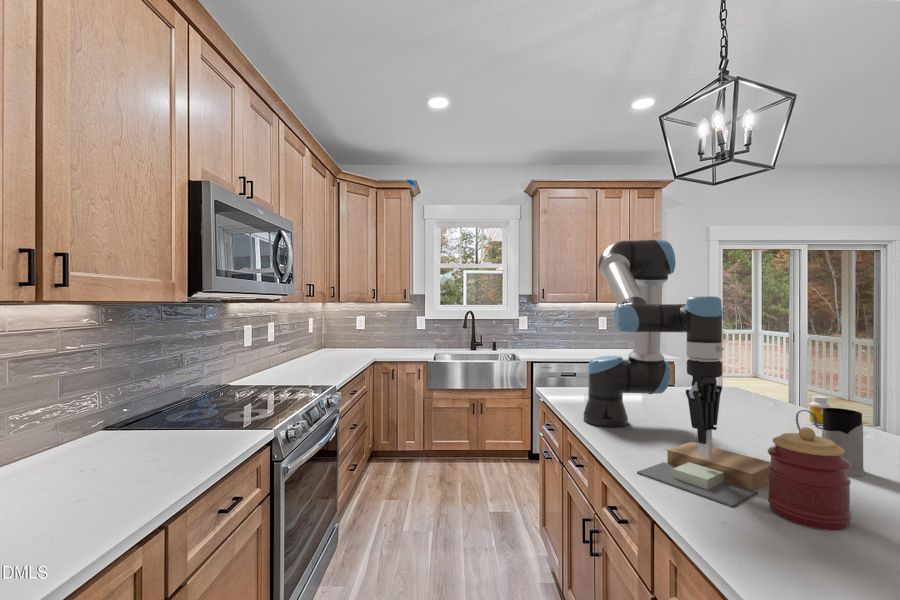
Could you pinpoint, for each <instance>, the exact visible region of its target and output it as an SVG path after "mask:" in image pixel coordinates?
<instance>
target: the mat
mask: <svg viewBox="0 0 900 600" xmlns="http://www.w3.org/2000/svg"><path fill="white" fill-rule="evenodd" d="M676 467H678V466H675V465H672V464H668V462H664V461H662V462H659V463H658V464H654V465H652V466H649V467H646V468H642V469H641V470H638V471H636V474H638V475H641V476H643V477H647V478H650V479H651V480H654V481H658V482H660V483H663V484H667V485H670V486H672V487H675V488H677V489H679V490H680V489H681V490H683V491H686V492H688V493H691V494H694V495H696V496H699V497H701V498H702V497H703V498H705V499H708V500H710V501H713V502H716V503H719V504H722V505H725V506H728V507H731V508H735V506H737V505H739V504H741V503H743V502H744V501H746V500H748V499H750V498H752V497H754V496H755V495H757V494H758V493H759V492H758V491H757V490H755V491H754V490H751V489H748V488H745V487H741V486H738V485H735V484H732V483H729V482H726V481H724V482H722V483H720V484H718V485H716V486H713V487H711V488H709V489H705V488H702V487H699V486H696V485H693V484H690V483H687V482H684V481H681V480H678V479H675V478H673V468H676Z"/></svg>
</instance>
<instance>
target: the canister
mask: <svg viewBox="0 0 900 600" xmlns="http://www.w3.org/2000/svg"><path fill="white" fill-rule="evenodd" d="M772 443H773V444H774V445H773V446H770V447H769V448H767V453H768V454H769V456H770V461H769V462H770V463H769V464H768V469H769V484H768V493H767V501H768V504H769V505H768V506H769V508H770V510H771V511H772V512H773V513H775V515H778V517H780V518H784V519H785V520H787V521H789V520H790V522H792V523H795V524H797V525H801V526H804V525H805V526H804V527H808V526H809V527H810V528H813V529H818V528H819V529H818V530H825V529H827V530H828V531H841V529H842V530H845V529H847V528H849V527H850V524H851V523H850V522H851V520H852V511H851V503H850V502H851V501H850V500H851V499H850V498H851V496H850V495H851V494H850V489H851V488H850V487H851V479H850V478H849V476H847V469H848V468H850V466H851V464H850V462H849V461H848V460H846V459H845V458H843V456H842V455H843V454H844V453H845V451H844V449H843V448H841V447H840V446H838V445H836V444H835V443H834V442H833V441H831V440H829V439H826V438H822V436H819V435H816V432H815V431H814V429H812V428H810V427H807V426H804V427H800V430H798V433H795V432H785V433H782V434H781V435H779V436H776V437H772ZM809 527H808V528H809ZM827 530H826V531H827Z"/></svg>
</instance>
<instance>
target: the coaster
mask: <svg viewBox="0 0 900 600" xmlns="http://www.w3.org/2000/svg"><path fill="white" fill-rule="evenodd" d="M673 478H675V479H678V480H681V481H684V482H687V483H690V484H693V485H696V486H699V487H702V488H705V489H709V488H711V487H713V486H716V485H718V484H720V483H722V482H724V472H722V471H719V470H716V469H712V468H709V467H706V466H702V465H699V464H695V463H692V462H689V463H686V464H683V465H681V466H678V467H676V468H673Z"/></svg>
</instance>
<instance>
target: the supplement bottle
mask: <svg viewBox="0 0 900 600" xmlns="http://www.w3.org/2000/svg"><path fill="white" fill-rule="evenodd" d="M811 398H812V401H811V402H810V403H809V411H811V412H812V413H813V414H814V415H815V417H816V421H817V426H818V427H823V408H831V405H830V404H829V403H827V402H828V397H827V396H823V395H812V397H811ZM809 423H810V424H811V425H814V426H815V424H814V418H813V416H812V415H811V414H810V413H809Z"/></svg>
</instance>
